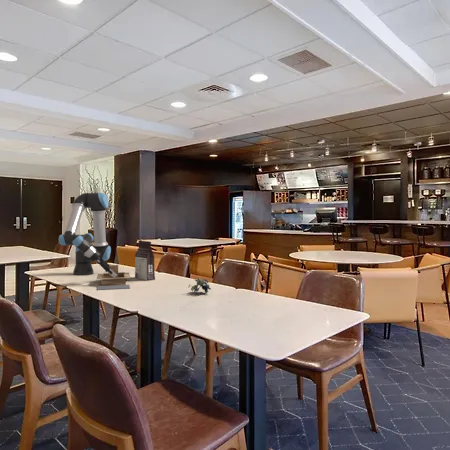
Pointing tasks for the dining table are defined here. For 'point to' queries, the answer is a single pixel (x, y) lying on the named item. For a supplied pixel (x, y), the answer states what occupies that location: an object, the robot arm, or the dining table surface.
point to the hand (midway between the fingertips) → (115, 275)
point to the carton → (113, 279)
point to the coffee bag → (144, 262)
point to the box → (114, 270)
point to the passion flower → (201, 283)
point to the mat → (113, 287)
